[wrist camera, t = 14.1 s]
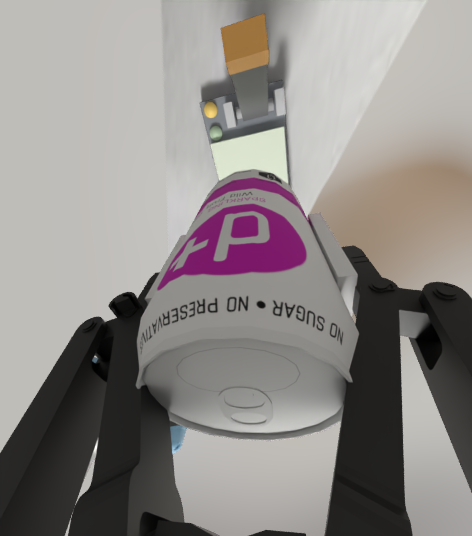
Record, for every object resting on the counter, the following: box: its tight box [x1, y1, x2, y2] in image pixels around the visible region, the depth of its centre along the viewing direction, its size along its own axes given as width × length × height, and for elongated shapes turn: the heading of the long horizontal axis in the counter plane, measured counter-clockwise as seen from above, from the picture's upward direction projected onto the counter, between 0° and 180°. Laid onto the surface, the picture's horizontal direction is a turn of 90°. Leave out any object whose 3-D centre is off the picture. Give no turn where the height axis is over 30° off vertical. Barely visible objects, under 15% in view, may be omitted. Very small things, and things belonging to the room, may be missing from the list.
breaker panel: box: [200, 80, 289, 184], centre depth 30 cm, size 10×14×4 cm
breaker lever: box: [221, 14, 274, 121], centre depth 21 cm, size 4×2×11 cm, turn 102°
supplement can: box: [136, 169, 359, 441], centre depth 13 cm, size 8×8×15 cm
